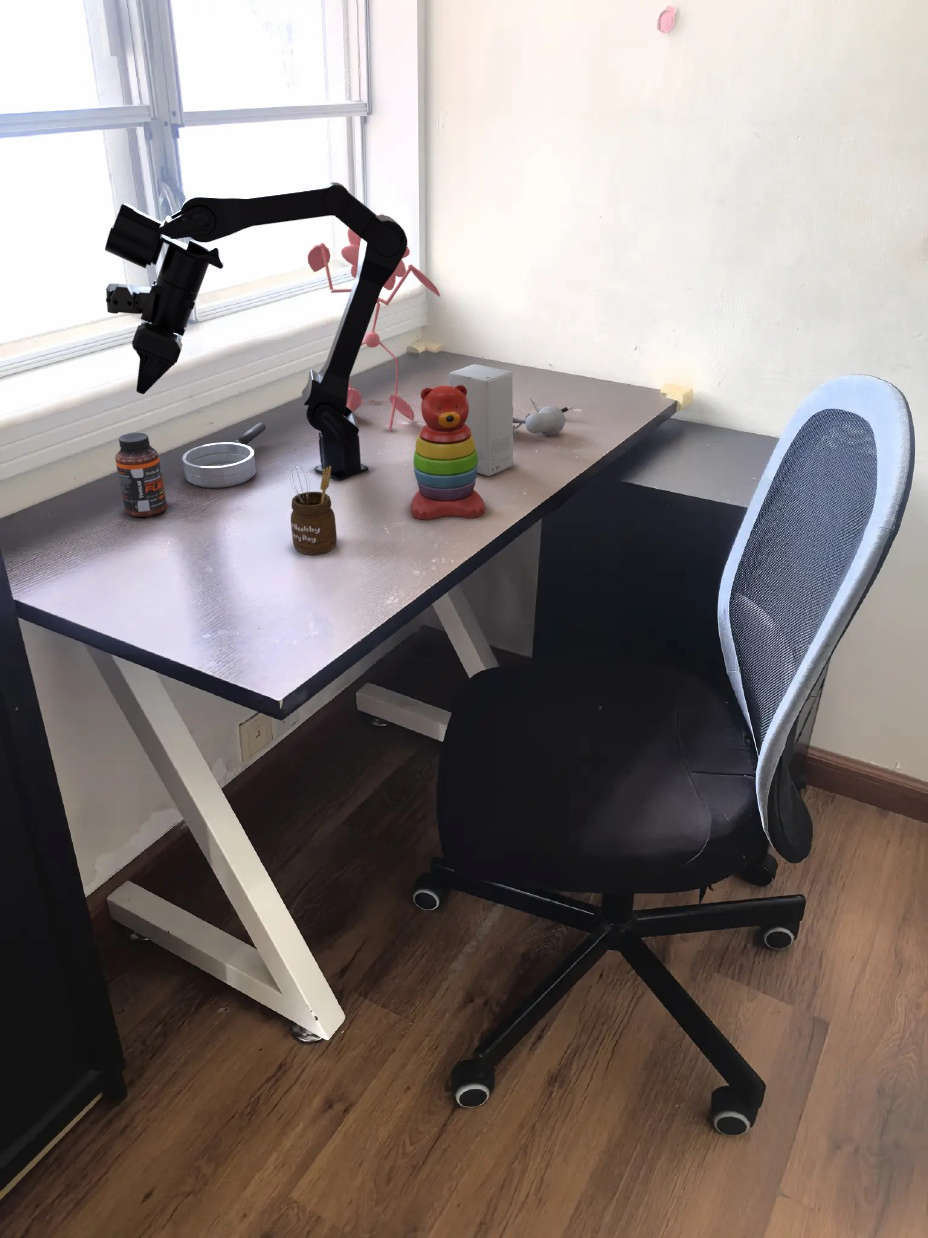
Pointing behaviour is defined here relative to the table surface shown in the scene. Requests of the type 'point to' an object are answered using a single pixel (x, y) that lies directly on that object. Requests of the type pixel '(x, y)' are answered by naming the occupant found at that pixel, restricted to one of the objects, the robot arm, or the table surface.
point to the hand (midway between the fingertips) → (142, 383)
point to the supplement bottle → (140, 476)
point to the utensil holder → (313, 519)
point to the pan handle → (248, 436)
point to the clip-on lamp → (543, 420)
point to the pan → (219, 465)
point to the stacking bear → (445, 457)
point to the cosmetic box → (488, 414)
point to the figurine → (321, 258)
